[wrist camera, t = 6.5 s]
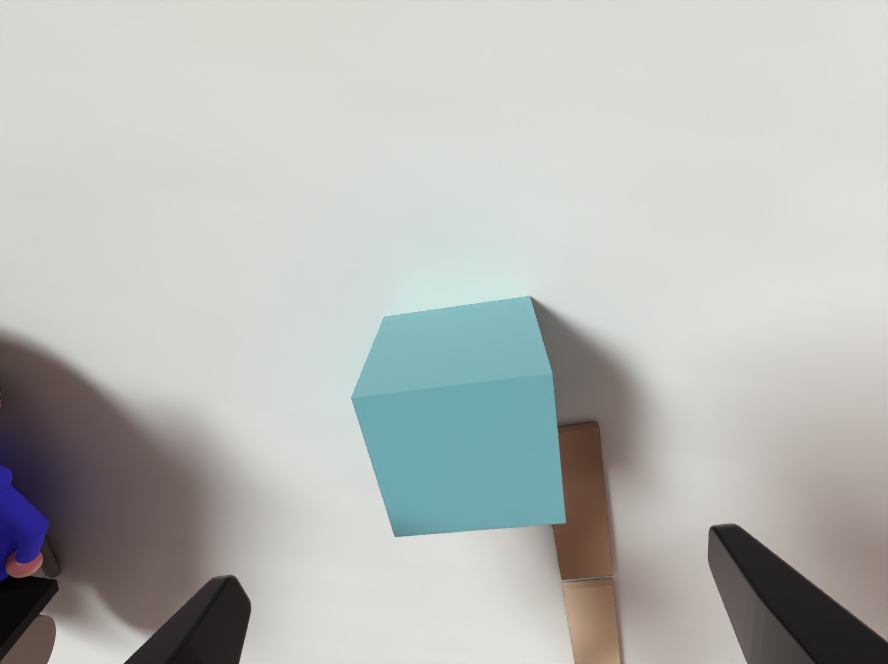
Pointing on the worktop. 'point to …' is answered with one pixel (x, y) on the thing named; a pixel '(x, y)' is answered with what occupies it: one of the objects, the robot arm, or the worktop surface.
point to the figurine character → (24, 579)
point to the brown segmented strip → (586, 547)
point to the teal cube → (462, 419)
